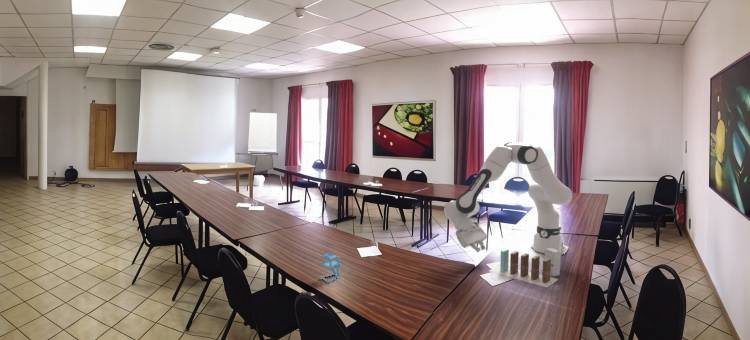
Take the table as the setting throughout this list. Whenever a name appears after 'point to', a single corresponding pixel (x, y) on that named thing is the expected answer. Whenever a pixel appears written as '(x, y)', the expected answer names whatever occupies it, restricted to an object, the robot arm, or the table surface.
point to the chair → (331, 265)
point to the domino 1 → (504, 260)
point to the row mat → (526, 278)
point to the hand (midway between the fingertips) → (481, 250)
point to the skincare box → (554, 260)
